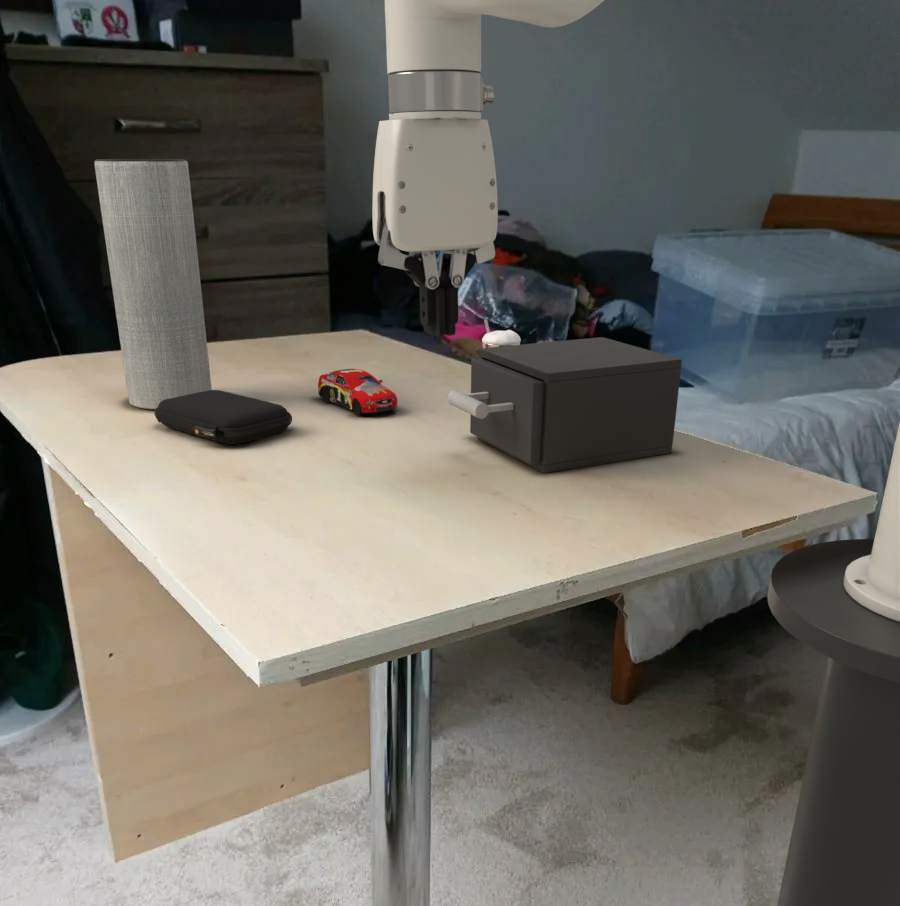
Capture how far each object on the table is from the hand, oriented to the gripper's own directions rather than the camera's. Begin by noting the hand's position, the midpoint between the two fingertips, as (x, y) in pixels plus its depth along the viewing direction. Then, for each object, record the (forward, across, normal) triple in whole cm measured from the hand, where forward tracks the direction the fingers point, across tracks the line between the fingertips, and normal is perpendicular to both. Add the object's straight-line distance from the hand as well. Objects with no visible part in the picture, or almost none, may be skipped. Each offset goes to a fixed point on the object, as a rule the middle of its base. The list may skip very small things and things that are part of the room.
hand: (439, 333), depth 84 cm
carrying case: (+13, +15, -26) cm, 33 cm away
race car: (+13, -3, -30) cm, 33 cm away
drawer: (+13, -13, -4) cm, 19 cm away
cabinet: (+14, -17, -4) cm, 22 cm away
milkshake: (+13, -18, -22) cm, 32 cm away
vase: (+12, +17, -42) cm, 47 cm away
